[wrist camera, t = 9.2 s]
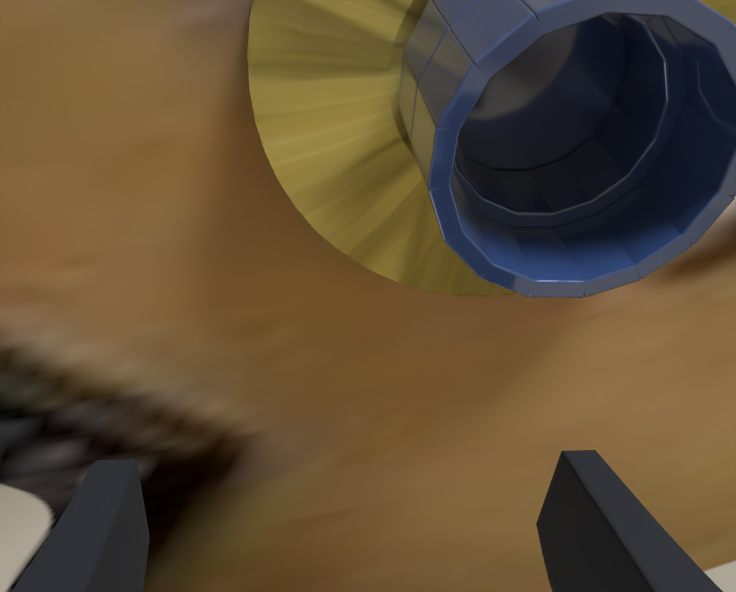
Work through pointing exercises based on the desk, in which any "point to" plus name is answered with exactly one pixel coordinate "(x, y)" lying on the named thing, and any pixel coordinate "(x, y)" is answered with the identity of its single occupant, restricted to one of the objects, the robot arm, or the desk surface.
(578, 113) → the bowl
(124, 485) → the robot arm
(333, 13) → the gold flat disc
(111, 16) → the desk surface
